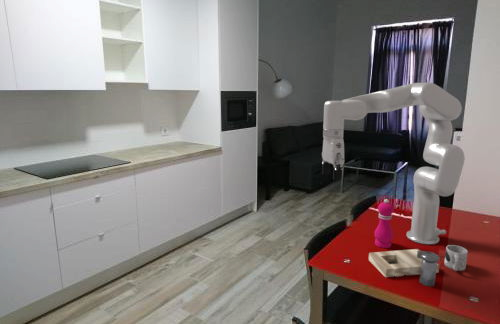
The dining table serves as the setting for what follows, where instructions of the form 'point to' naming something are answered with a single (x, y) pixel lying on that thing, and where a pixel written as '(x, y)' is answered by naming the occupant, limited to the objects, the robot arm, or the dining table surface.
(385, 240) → the pepper mill
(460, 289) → the dining table surface
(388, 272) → the jig
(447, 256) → the mug
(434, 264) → the silver domed cylinder
